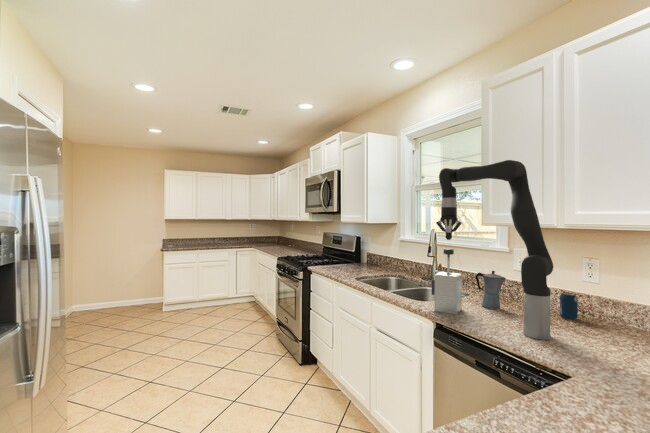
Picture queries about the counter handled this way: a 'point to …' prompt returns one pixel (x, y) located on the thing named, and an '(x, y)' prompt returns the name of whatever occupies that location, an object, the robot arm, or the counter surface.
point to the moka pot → (491, 289)
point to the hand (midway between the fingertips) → (448, 239)
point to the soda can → (568, 306)
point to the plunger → (448, 258)
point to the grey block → (447, 292)
